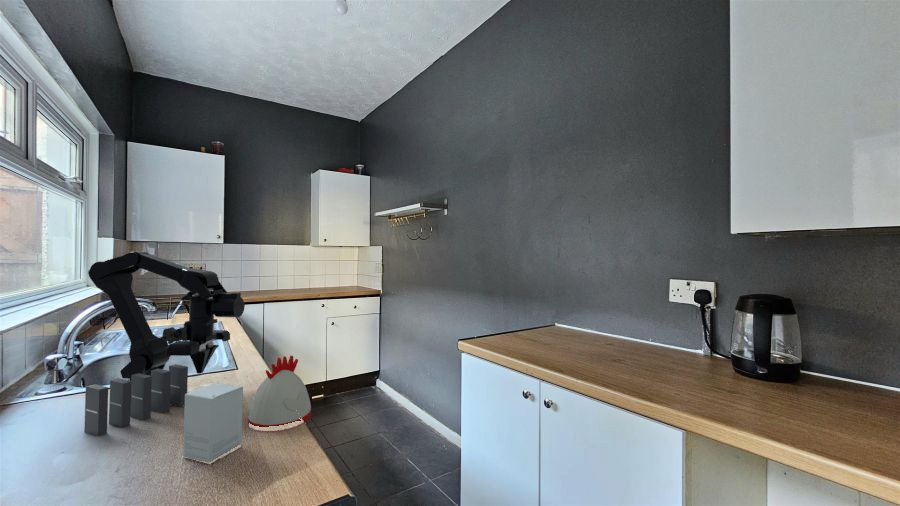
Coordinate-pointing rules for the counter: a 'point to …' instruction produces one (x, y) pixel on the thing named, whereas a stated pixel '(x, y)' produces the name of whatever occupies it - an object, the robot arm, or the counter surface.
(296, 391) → the grey chicken figure
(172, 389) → the domino
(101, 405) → the domino
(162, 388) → the domino
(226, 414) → the supplement box
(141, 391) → the domino
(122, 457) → the counter surface
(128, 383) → the domino
